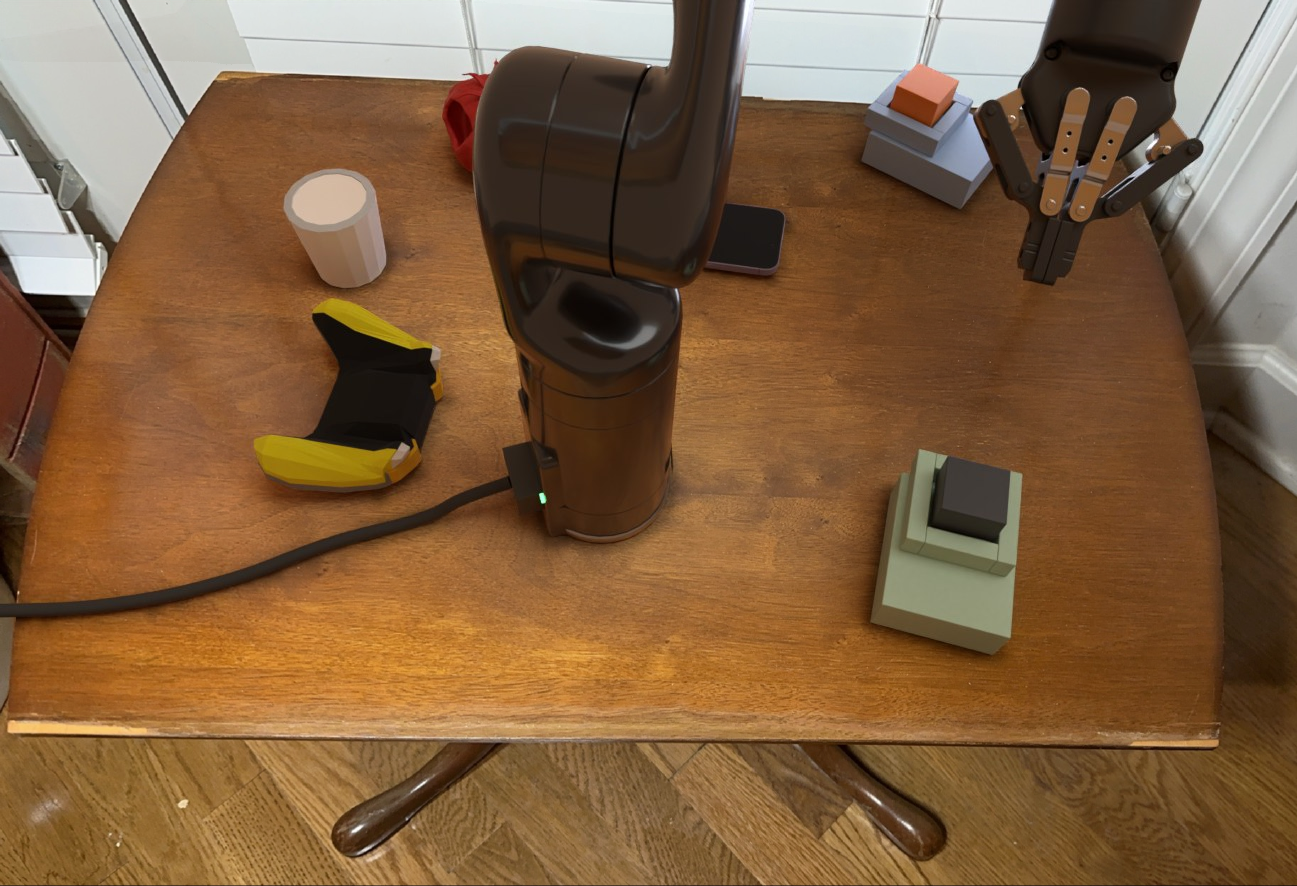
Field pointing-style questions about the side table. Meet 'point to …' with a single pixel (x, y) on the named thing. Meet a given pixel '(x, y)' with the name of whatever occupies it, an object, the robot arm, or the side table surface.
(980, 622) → the green stepped block
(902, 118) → the blue-grey socket block
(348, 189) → the pale pink cylinder
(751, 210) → the smartphone
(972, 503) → the charcoal key
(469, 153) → the pomegranate
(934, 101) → the orange key
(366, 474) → the gaming controller
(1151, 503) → the side table surface
